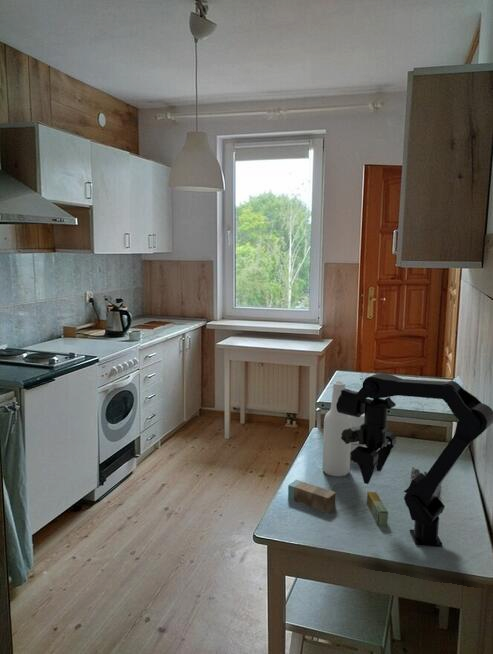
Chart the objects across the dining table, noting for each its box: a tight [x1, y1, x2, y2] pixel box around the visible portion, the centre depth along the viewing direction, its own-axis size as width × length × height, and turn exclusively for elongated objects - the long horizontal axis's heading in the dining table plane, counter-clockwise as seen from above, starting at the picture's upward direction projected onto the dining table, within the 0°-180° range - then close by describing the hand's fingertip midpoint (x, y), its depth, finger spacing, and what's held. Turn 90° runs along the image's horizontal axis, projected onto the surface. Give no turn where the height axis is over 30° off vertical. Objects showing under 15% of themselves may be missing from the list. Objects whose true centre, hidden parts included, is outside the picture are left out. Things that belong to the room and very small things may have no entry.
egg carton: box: [409, 466, 428, 483], centre depth 157 cm, size 11×8×4 cm
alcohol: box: [322, 381, 352, 478], centre depth 165 cm, size 9×9×30 cm
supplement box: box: [350, 413, 367, 452], centre depth 183 cm, size 9×9×15 cm
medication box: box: [365, 491, 389, 527], centre depth 140 cm, size 12×3×4 cm, turn 2°
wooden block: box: [287, 479, 337, 514], centre depth 146 cm, size 4×4×13 cm
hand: (372, 476), depth 136 cm, fingers open, 9 cm apart
